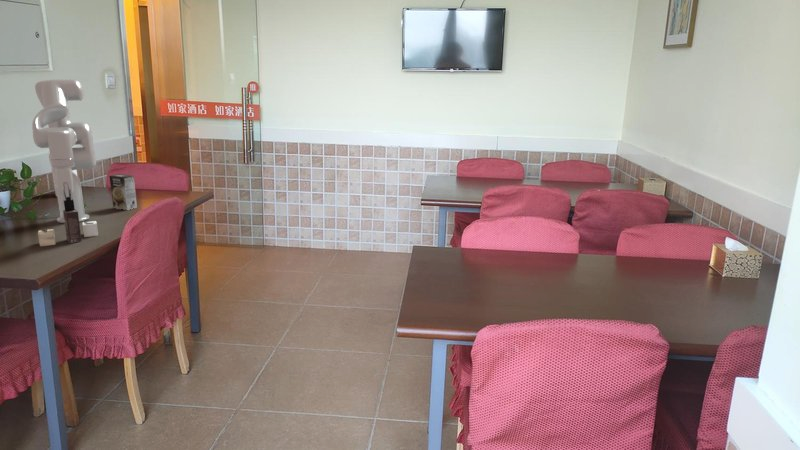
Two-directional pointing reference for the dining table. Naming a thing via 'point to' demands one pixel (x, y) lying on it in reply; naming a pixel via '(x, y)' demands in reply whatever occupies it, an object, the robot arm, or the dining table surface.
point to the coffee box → (123, 191)
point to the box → (72, 226)
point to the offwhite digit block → (90, 229)
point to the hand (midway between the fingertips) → (69, 210)
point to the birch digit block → (46, 237)
